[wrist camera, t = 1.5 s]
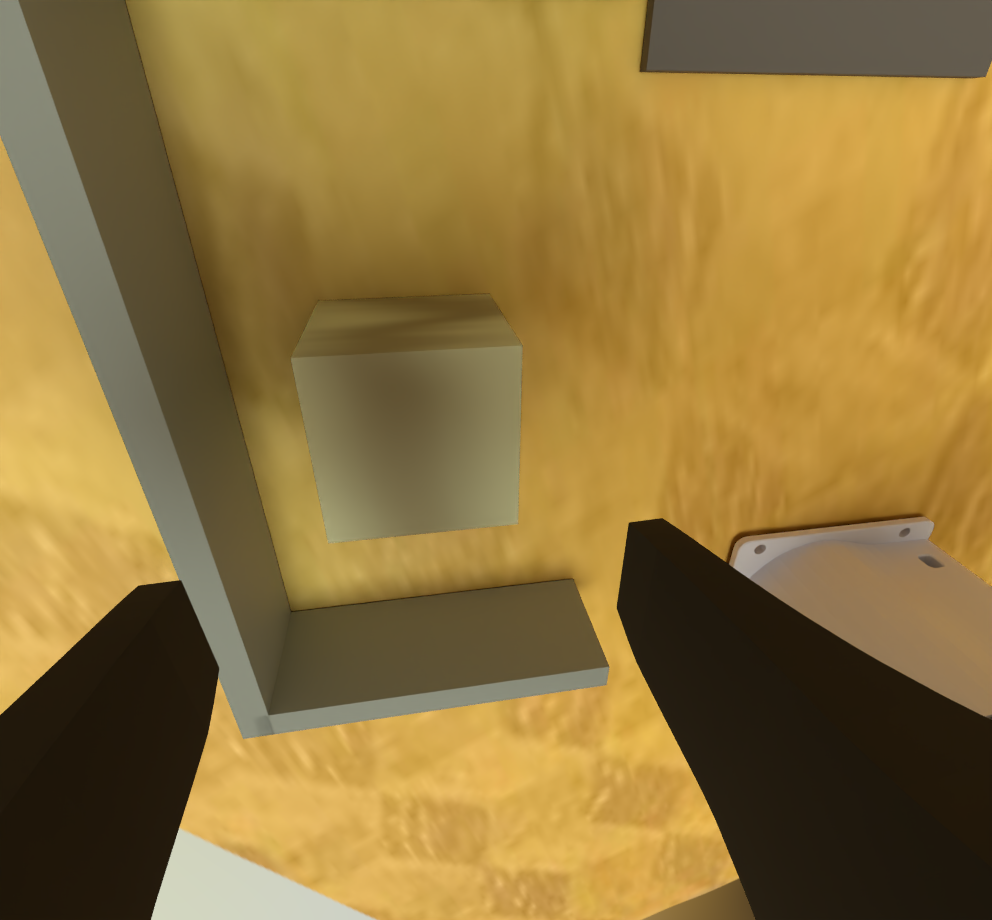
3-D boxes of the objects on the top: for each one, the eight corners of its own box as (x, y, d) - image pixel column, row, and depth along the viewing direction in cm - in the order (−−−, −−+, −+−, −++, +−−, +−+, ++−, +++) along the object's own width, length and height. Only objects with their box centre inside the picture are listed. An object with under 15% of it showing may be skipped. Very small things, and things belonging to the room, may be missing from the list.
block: (488, 292, 16) (522, 345, 12) (490, 438, 19) (518, 524, 15) (318, 299, 16) (290, 358, 11) (343, 449, 18) (328, 543, 14)
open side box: (634, -60, 13) (739, -149, 9) (571, 596, 23) (606, 685, 19) (46, -92, 11) (-143, -221, 7) (270, 632, 21) (243, 738, 18)
